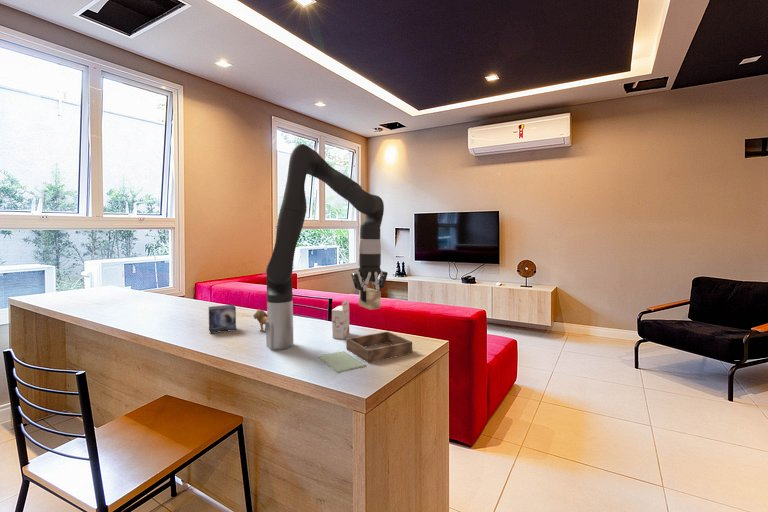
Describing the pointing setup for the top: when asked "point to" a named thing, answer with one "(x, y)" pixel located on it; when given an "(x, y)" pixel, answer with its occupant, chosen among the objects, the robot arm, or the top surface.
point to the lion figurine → (261, 318)
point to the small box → (222, 318)
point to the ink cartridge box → (340, 321)
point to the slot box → (396, 349)
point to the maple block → (371, 299)
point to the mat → (341, 361)
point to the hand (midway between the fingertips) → (369, 300)
